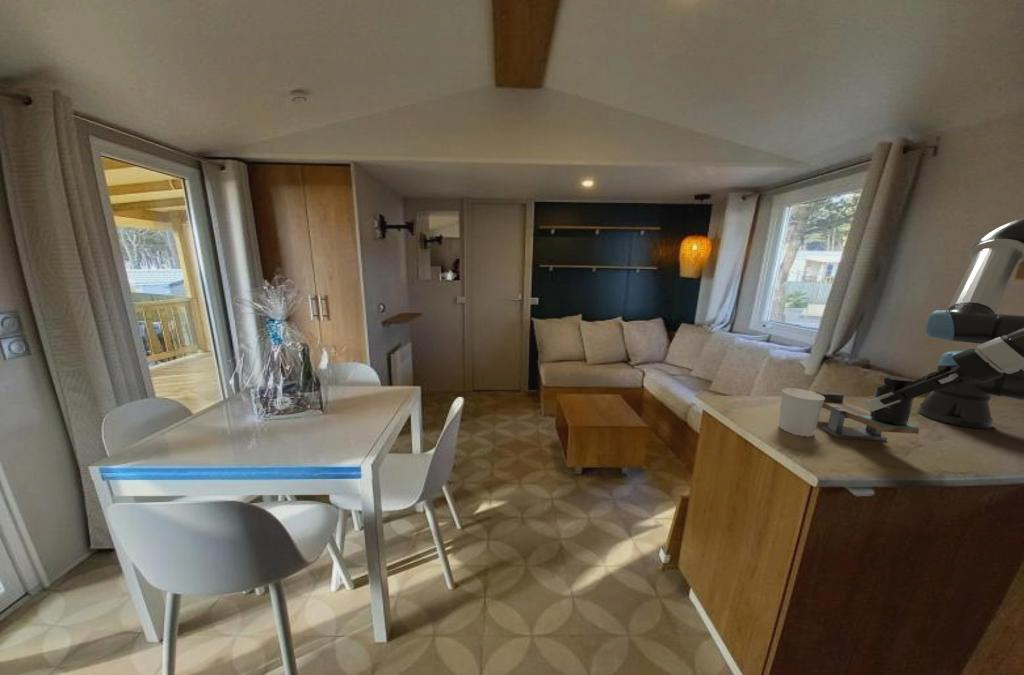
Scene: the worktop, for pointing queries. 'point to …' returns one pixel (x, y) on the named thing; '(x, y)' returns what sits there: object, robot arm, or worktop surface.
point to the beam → (863, 414)
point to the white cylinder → (800, 411)
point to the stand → (850, 428)
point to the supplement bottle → (897, 411)
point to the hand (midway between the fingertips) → (871, 404)
